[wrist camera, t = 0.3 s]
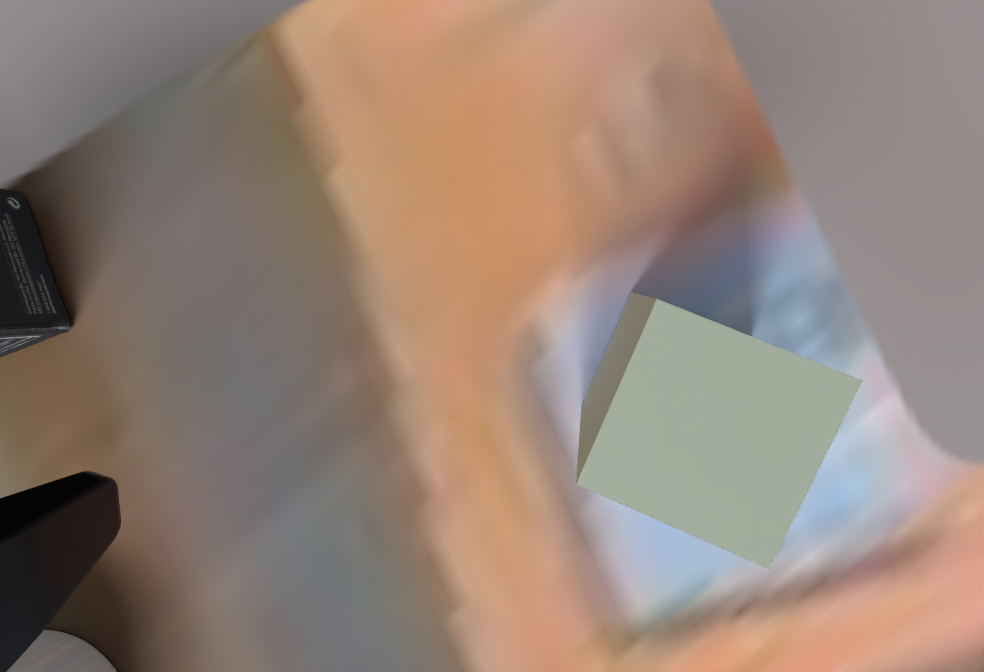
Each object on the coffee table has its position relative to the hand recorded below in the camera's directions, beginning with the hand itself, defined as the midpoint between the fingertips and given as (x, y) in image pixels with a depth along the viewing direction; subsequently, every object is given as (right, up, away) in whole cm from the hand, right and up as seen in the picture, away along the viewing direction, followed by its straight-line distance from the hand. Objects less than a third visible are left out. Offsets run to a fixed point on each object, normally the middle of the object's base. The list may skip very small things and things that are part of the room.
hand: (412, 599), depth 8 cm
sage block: (+7, +2, +14) cm, 16 cm away
